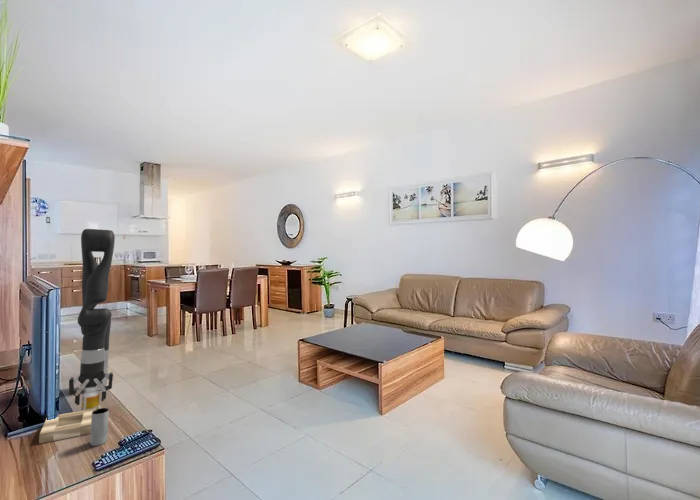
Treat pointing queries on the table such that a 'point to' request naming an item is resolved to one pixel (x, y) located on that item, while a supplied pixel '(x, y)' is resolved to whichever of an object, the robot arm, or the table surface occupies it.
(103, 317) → the robot arm
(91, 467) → the table surface
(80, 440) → the table surface
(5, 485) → the table surface
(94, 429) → the planter
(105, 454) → the table surface
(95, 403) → the supplement bottle
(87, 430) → the holder
